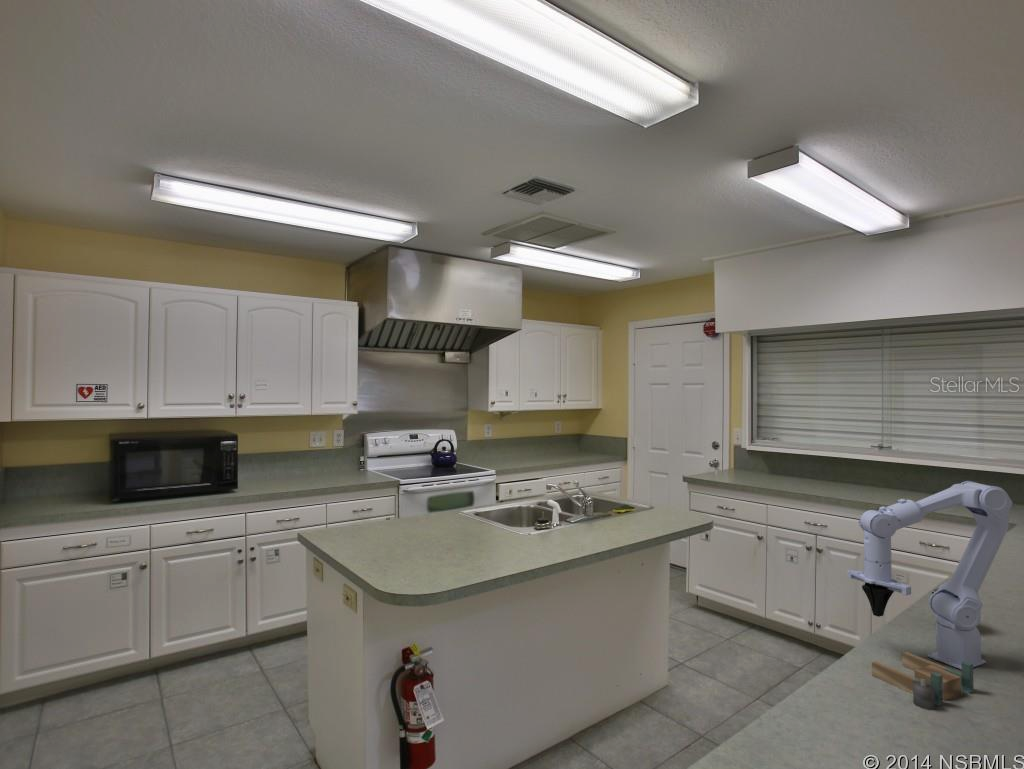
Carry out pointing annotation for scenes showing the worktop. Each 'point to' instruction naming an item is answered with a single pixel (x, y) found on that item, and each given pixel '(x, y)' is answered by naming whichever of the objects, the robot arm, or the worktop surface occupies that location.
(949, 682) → the brown wooden block
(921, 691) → the bay
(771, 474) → the worktop surface
